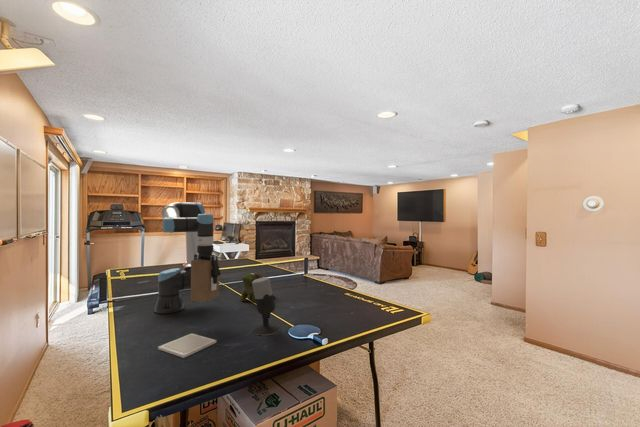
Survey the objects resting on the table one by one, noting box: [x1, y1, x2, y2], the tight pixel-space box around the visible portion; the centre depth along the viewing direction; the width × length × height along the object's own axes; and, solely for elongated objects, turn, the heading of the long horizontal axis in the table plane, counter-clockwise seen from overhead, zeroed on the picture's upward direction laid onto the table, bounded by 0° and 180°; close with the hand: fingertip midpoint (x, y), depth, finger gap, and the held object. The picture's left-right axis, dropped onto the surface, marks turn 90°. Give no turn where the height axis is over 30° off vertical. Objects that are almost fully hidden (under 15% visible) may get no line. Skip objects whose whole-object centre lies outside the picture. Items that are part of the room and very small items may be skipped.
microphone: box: [251, 276, 280, 337], centre depth 141 cm, size 13×13×25 cm
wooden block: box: [190, 257, 220, 303], centre depth 148 cm, size 10×10×20 cm
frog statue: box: [240, 272, 264, 303], centre depth 194 cm, size 19×16×25 cm
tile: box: [157, 332, 217, 359], centre depth 125 cm, size 16×16×1 cm
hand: (205, 288), depth 148 cm, fingers closed on wooden block, 11 cm apart
